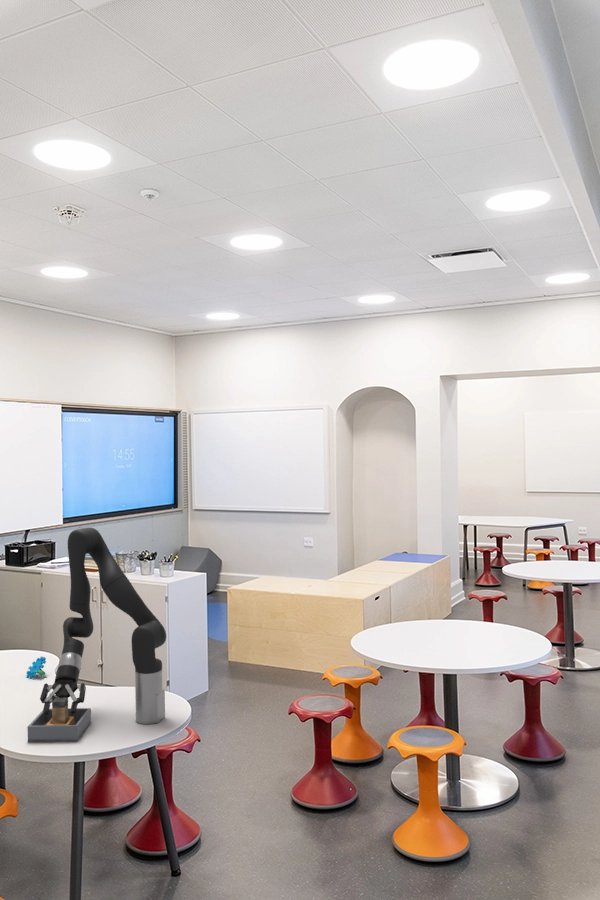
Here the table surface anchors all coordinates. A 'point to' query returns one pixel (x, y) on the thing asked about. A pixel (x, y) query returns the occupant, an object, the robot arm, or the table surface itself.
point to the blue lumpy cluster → (37, 668)
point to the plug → (60, 711)
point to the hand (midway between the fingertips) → (58, 714)
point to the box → (59, 727)
